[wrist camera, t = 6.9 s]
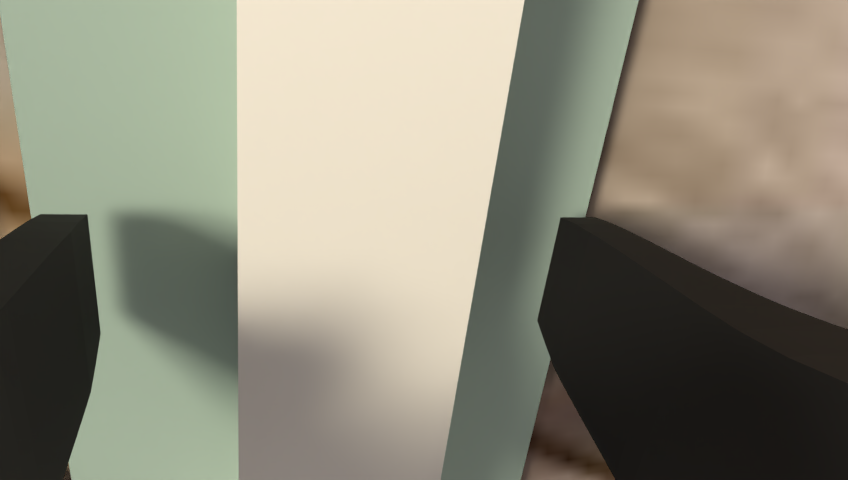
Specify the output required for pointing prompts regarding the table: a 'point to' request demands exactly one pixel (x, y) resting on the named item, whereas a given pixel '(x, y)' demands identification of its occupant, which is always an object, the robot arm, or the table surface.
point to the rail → (361, 225)
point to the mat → (218, 225)
